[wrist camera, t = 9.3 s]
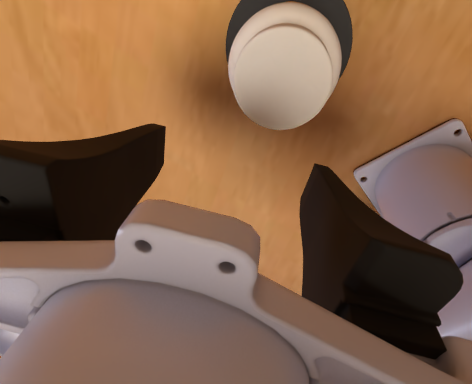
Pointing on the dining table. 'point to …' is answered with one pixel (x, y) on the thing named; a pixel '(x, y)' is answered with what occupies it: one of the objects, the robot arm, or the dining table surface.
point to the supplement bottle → (284, 65)
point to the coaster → (326, 3)
